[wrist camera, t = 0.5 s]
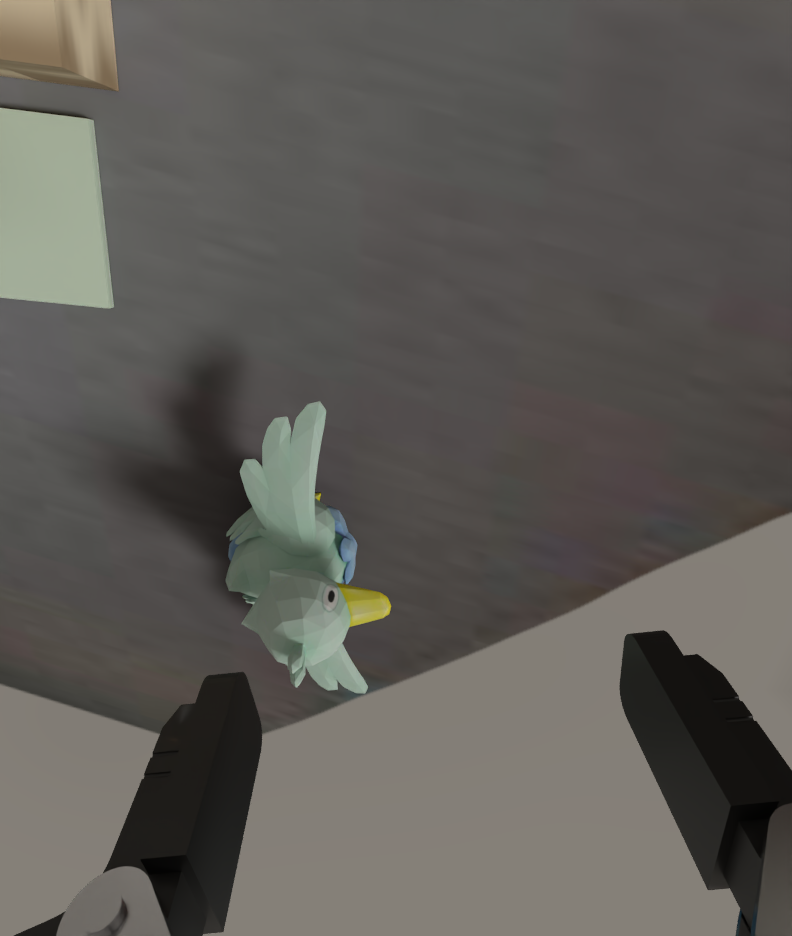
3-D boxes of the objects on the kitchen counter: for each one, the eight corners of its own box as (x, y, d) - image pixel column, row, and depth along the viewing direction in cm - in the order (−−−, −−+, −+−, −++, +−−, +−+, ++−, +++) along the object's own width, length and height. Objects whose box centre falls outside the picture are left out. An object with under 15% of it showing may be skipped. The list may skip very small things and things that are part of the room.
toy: (400, 636, 47) (410, 811, 34) (266, 648, 47) (223, 828, 34) (371, 369, 37) (369, 466, 23) (200, 385, 37) (100, 491, 24)
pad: (-101, 95, 30) (-110, 94, 29) (93, 120, 30) (88, 118, 30) (-55, 289, 34) (-62, 291, 33) (113, 306, 35) (109, 308, 34)
